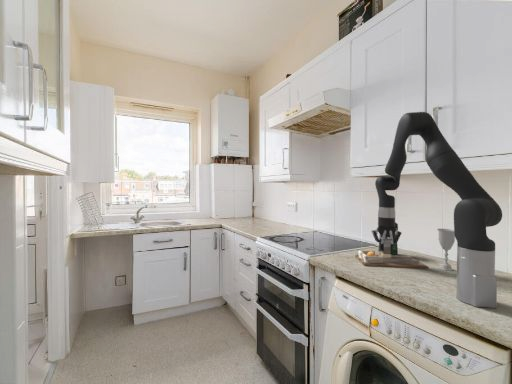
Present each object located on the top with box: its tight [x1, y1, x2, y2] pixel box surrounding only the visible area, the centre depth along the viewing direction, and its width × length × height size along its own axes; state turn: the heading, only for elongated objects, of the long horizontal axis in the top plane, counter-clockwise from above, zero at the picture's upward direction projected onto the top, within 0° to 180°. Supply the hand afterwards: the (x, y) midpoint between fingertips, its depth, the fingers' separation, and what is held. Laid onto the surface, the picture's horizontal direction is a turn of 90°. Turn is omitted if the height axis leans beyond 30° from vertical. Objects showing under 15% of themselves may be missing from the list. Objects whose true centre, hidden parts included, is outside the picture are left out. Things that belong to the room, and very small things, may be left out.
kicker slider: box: [378, 239, 391, 259], centre depth 124 cm, size 5×4×10 cm
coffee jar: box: [377, 222, 399, 256], centre depth 140 cm, size 10×8×19 cm
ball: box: [367, 252, 377, 256], centre depth 125 cm, size 4×4×4 cm
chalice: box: [437, 228, 456, 272], centre depth 114 cm, size 7×7×18 cm
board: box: [355, 249, 429, 270], centre depth 124 cm, size 16×28×4 cm, turn 83°
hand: (386, 250), depth 124 cm, fingers open, 3 cm apart
